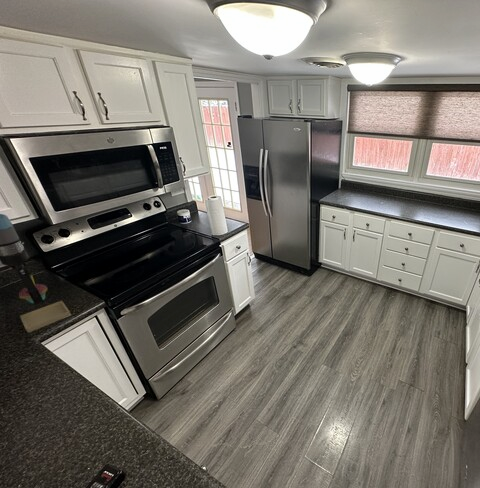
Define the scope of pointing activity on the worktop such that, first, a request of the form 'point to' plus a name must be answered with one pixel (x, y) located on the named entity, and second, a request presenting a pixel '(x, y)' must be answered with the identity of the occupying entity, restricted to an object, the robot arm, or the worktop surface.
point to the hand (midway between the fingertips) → (36, 298)
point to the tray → (45, 316)
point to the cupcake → (40, 288)
